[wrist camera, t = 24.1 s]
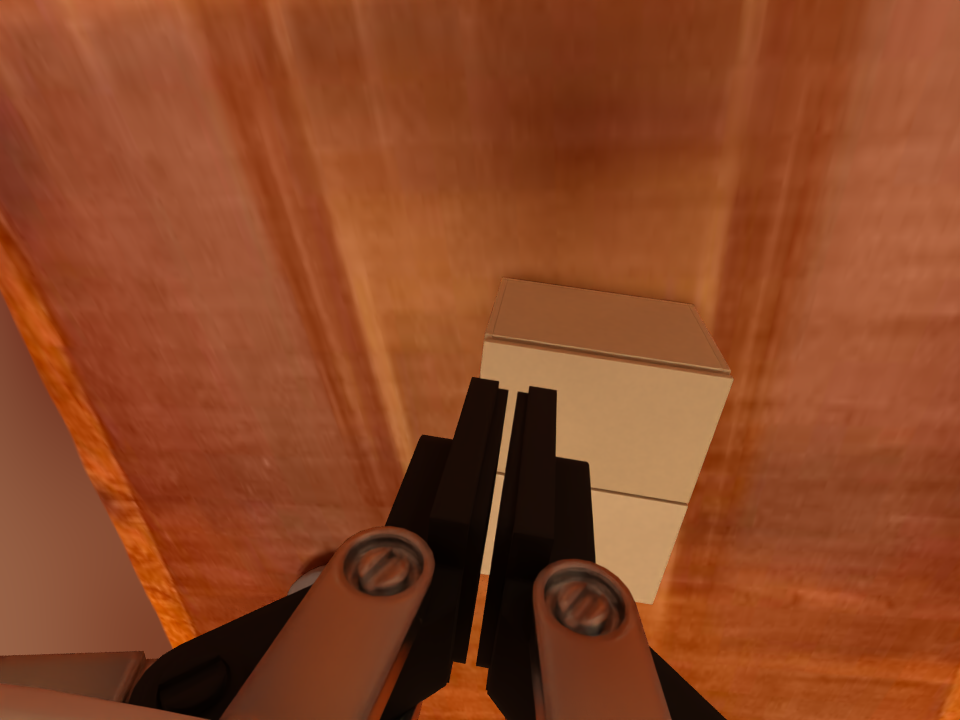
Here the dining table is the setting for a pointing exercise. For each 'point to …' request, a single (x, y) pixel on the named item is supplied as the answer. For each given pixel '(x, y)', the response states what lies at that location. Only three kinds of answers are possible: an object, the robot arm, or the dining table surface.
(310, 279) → the dining table surface
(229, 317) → the dining table surface
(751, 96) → the dining table surface
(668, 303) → the carton
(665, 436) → the flap
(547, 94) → the dining table surface
